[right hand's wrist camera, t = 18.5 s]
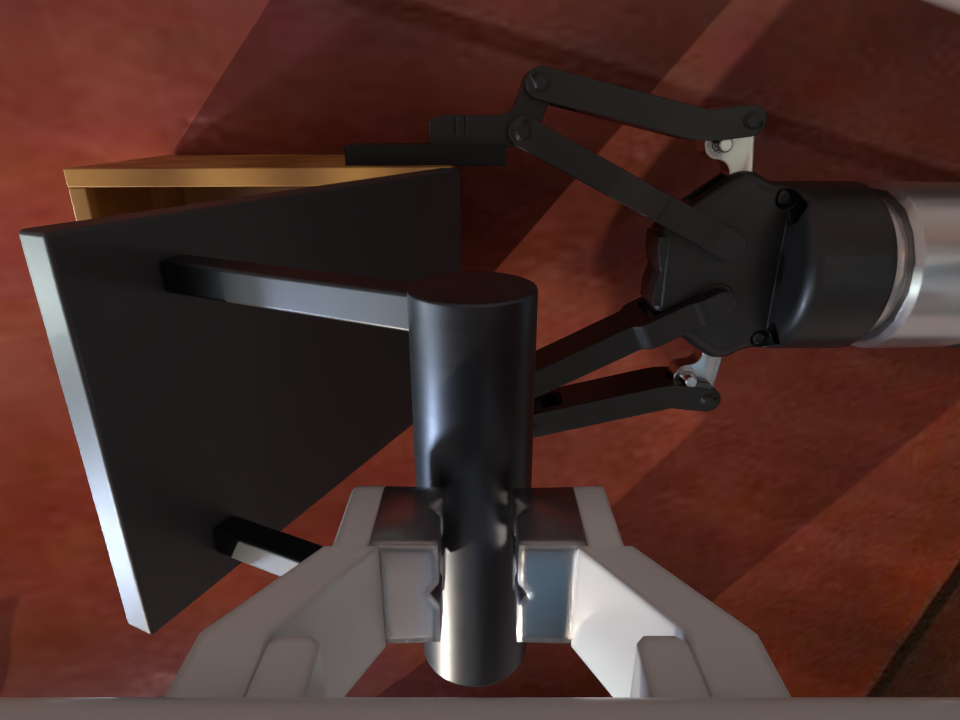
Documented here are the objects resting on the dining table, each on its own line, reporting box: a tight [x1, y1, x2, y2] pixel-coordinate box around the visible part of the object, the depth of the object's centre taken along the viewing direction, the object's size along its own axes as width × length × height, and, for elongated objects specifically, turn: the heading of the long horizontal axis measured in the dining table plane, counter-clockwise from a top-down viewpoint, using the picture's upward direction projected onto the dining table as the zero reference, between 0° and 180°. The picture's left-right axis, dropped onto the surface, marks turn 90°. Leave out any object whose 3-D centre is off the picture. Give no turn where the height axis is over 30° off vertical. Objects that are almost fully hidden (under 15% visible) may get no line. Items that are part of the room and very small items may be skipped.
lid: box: [19, 168, 538, 687], centre depth 17 cm, size 16×9×9 cm
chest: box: [64, 154, 455, 221], centre depth 30 cm, size 15×9×9 cm, turn 90°
